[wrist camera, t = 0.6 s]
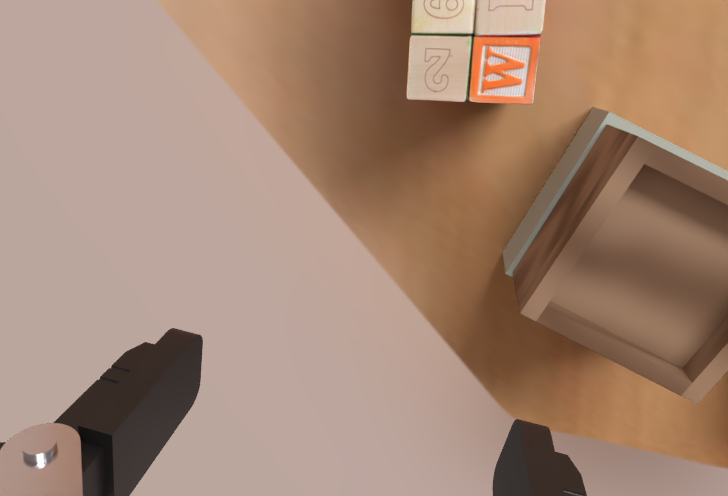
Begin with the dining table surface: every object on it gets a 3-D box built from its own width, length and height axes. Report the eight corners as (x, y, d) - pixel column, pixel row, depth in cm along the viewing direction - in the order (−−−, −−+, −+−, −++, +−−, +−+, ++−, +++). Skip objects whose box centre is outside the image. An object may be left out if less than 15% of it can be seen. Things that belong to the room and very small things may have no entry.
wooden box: (606, 124, 31) (638, 136, 25) (774, 206, 31) (847, 239, 25) (512, 272, 35) (519, 313, 29) (658, 346, 35) (697, 404, 29)
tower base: (592, 106, 35) (609, 111, 31) (751, 186, 35) (792, 203, 30) (502, 250, 40) (505, 273, 35) (641, 322, 39) (664, 355, 35)
